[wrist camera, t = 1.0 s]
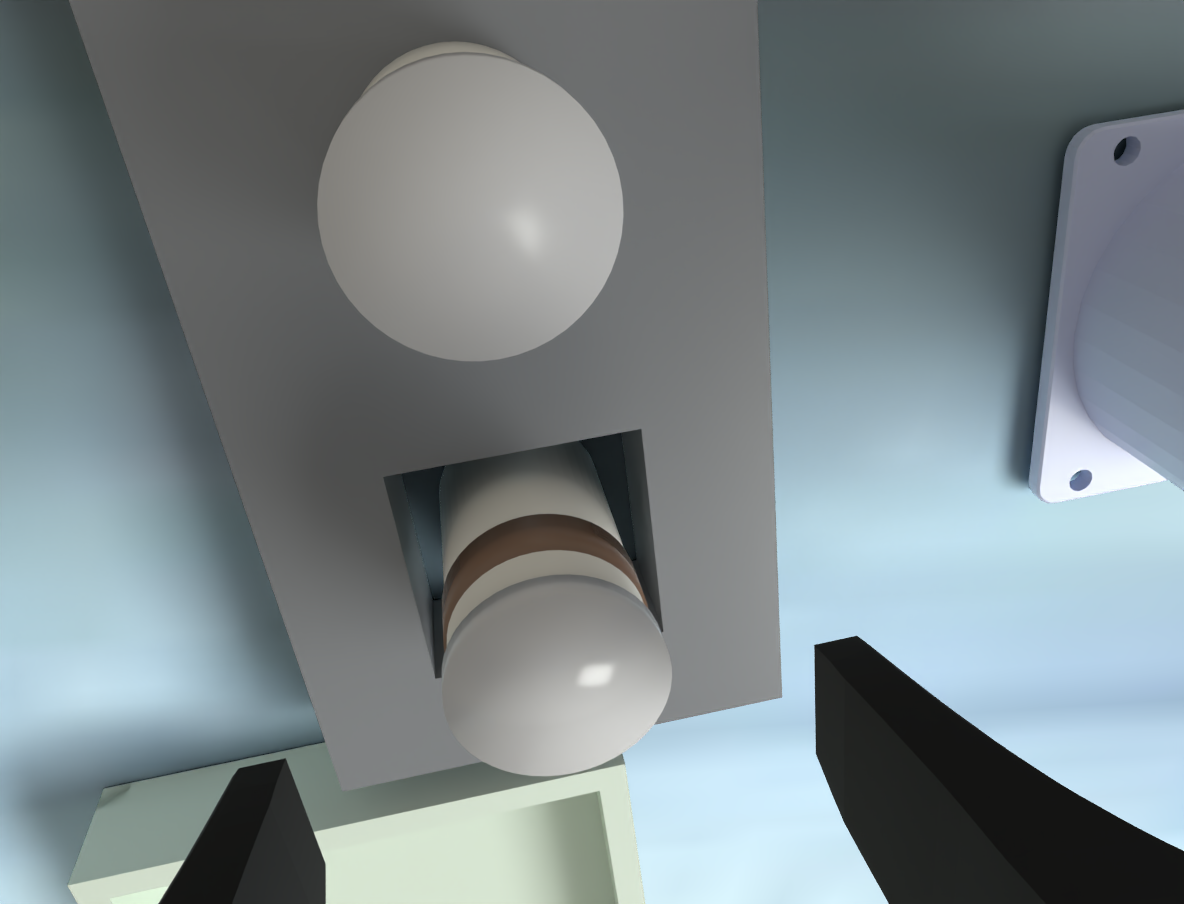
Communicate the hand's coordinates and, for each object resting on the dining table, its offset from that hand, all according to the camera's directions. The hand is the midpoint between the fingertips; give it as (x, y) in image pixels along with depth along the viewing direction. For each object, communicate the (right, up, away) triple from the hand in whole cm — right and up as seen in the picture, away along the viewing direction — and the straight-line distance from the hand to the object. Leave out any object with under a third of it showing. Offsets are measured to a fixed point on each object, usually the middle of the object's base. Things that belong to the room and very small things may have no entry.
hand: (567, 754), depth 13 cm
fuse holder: (-2, +6, +5) cm, 8 cm away
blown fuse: (-1, +3, +6) cm, 7 cm away
